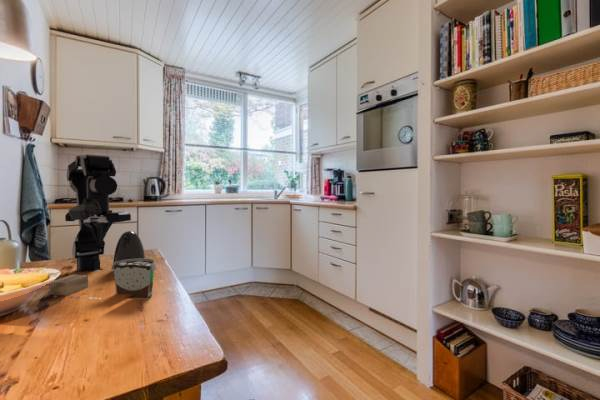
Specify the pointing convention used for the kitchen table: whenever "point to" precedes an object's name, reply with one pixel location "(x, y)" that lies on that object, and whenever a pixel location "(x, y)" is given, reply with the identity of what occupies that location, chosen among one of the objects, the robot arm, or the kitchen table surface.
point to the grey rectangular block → (68, 284)
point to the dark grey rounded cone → (129, 247)
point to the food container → (134, 277)
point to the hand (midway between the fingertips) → (99, 243)
